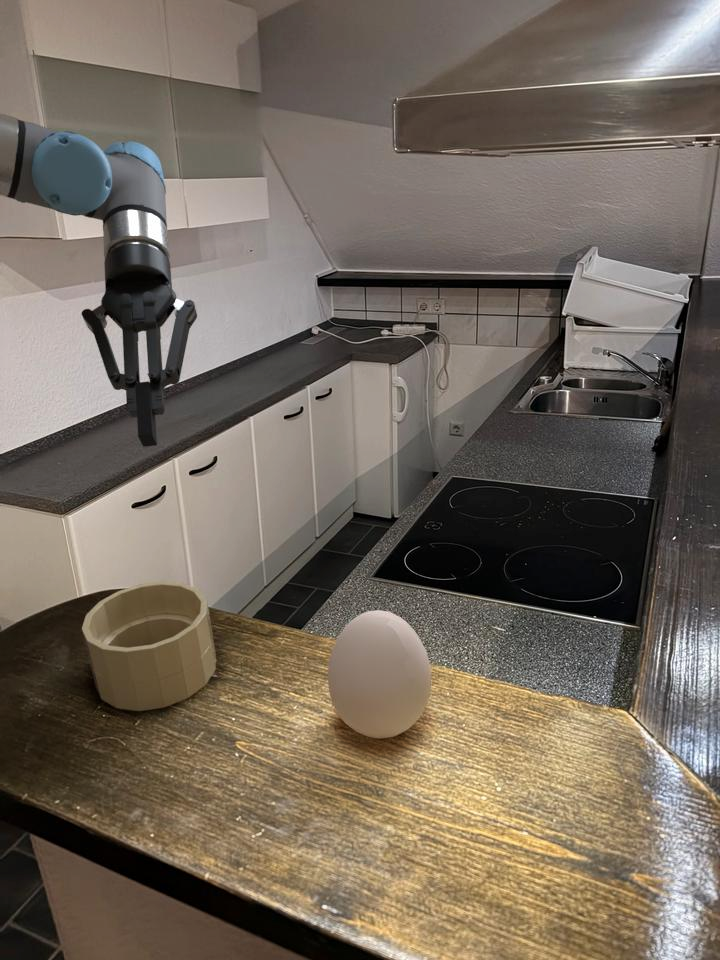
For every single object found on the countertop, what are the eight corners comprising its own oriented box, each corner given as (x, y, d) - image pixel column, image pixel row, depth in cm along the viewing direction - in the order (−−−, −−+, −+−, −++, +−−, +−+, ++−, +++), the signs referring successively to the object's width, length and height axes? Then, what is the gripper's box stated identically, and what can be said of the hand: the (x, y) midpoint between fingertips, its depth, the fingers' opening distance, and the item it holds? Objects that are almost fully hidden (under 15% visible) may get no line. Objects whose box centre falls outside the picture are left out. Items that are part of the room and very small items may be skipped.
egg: (395, 681, 71) (390, 576, 67) (453, 735, 65) (452, 622, 60) (314, 718, 67) (303, 609, 63) (366, 780, 61) (358, 663, 56)
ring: (89, 727, 68) (71, 658, 65) (108, 651, 78) (93, 589, 75) (216, 709, 69) (204, 641, 66) (218, 637, 79) (208, 575, 76)
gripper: (197, 275, 95) (212, 448, 86) (89, 284, 93) (94, 461, 85) (188, 235, 88) (204, 419, 79) (71, 244, 86) (75, 433, 78)
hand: (147, 440), depth 82 cm, fingers closed
